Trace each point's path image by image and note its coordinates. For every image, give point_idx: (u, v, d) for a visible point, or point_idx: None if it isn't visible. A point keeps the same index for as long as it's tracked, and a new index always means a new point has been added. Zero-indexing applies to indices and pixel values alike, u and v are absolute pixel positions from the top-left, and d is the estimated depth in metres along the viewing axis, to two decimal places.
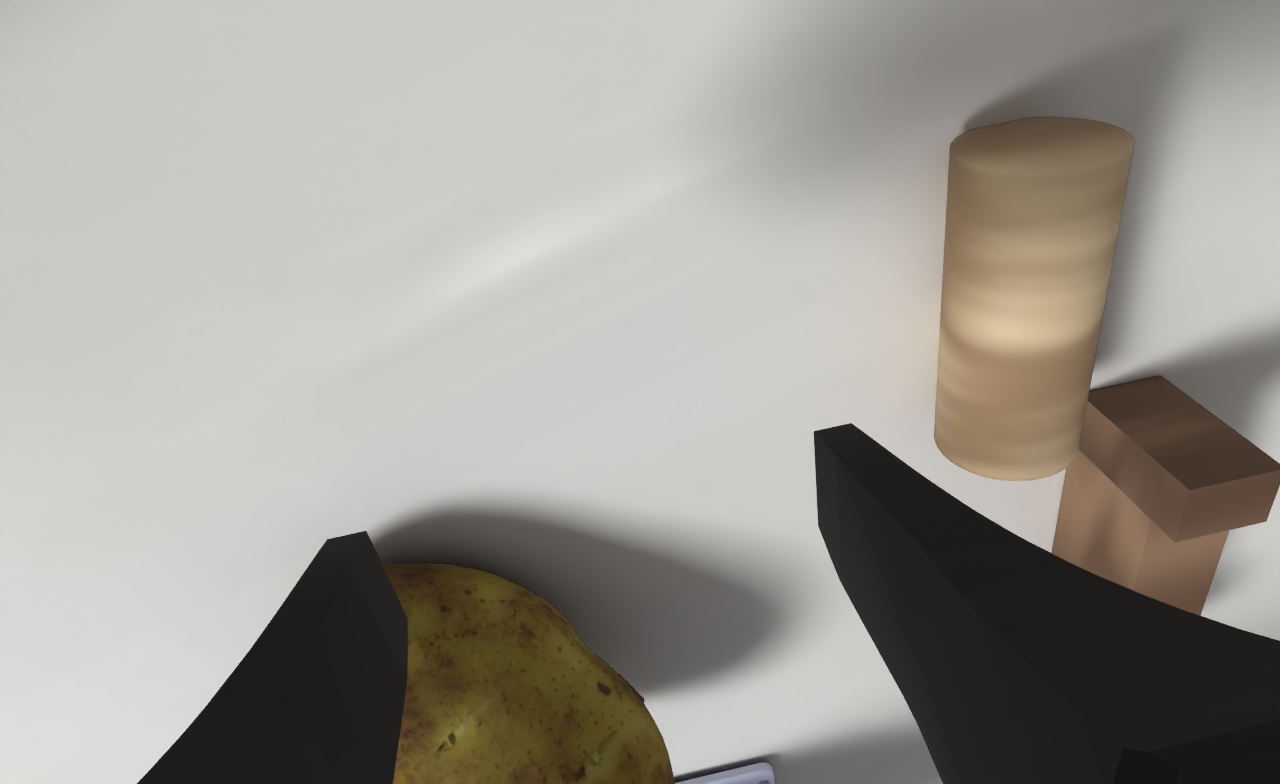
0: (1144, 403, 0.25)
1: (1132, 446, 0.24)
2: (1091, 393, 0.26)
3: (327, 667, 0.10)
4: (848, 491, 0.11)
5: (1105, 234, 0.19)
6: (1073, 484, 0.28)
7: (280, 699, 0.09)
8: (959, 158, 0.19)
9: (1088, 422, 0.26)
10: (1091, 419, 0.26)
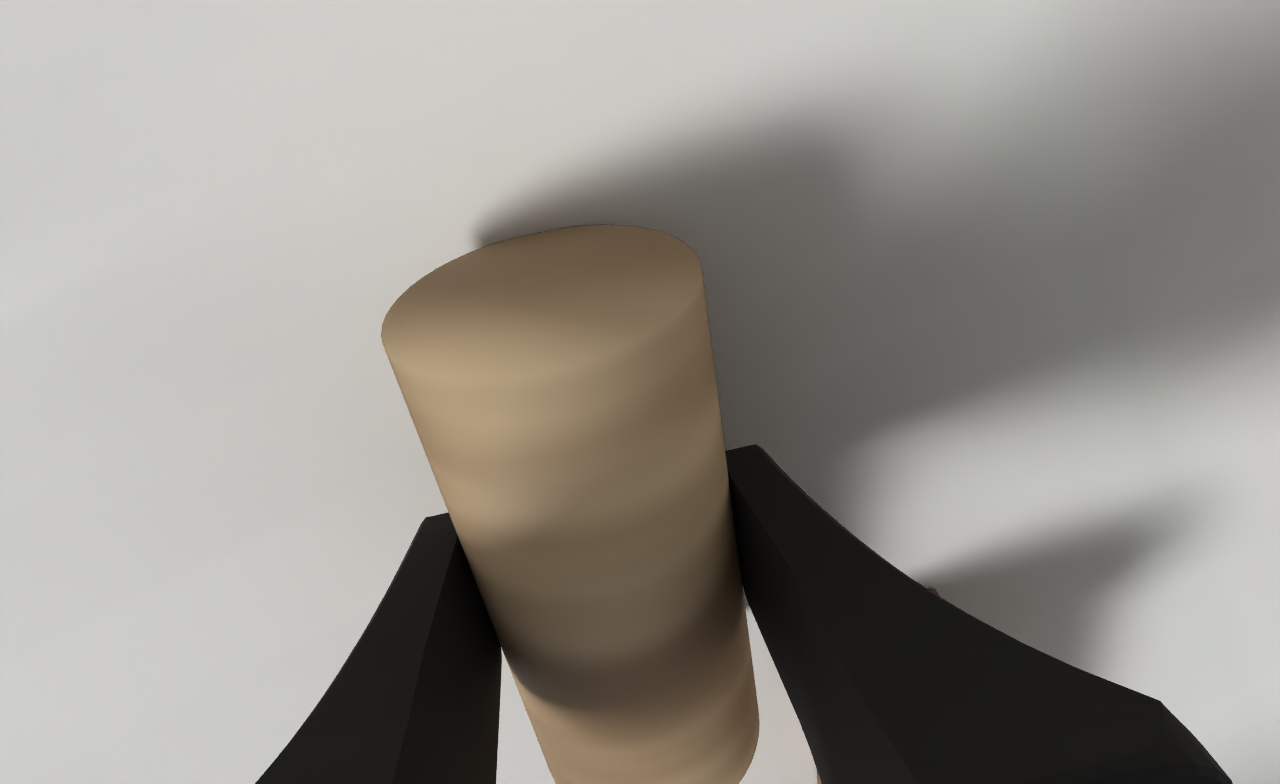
0: None
1: None
2: None
3: (445, 640, 0.10)
4: (743, 515, 0.11)
5: (652, 478, 0.10)
6: None
7: (413, 668, 0.09)
8: (390, 319, 0.10)
9: None
10: None
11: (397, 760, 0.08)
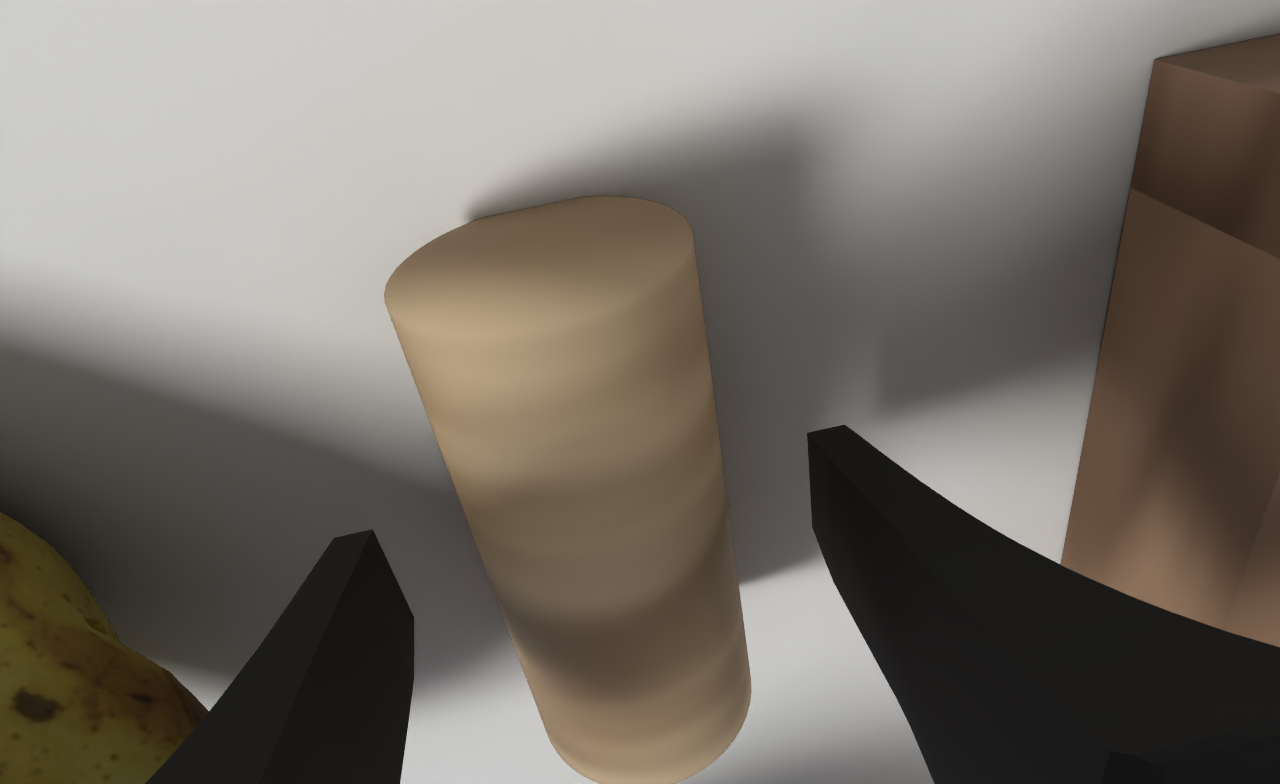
0: None
1: None
2: (1181, 56, 0.12)
3: (336, 665, 0.10)
4: (841, 493, 0.11)
5: (639, 438, 0.10)
6: (1133, 282, 0.14)
7: (290, 697, 0.09)
8: (394, 280, 0.10)
9: (1174, 118, 0.12)
10: (1183, 106, 0.12)
11: None
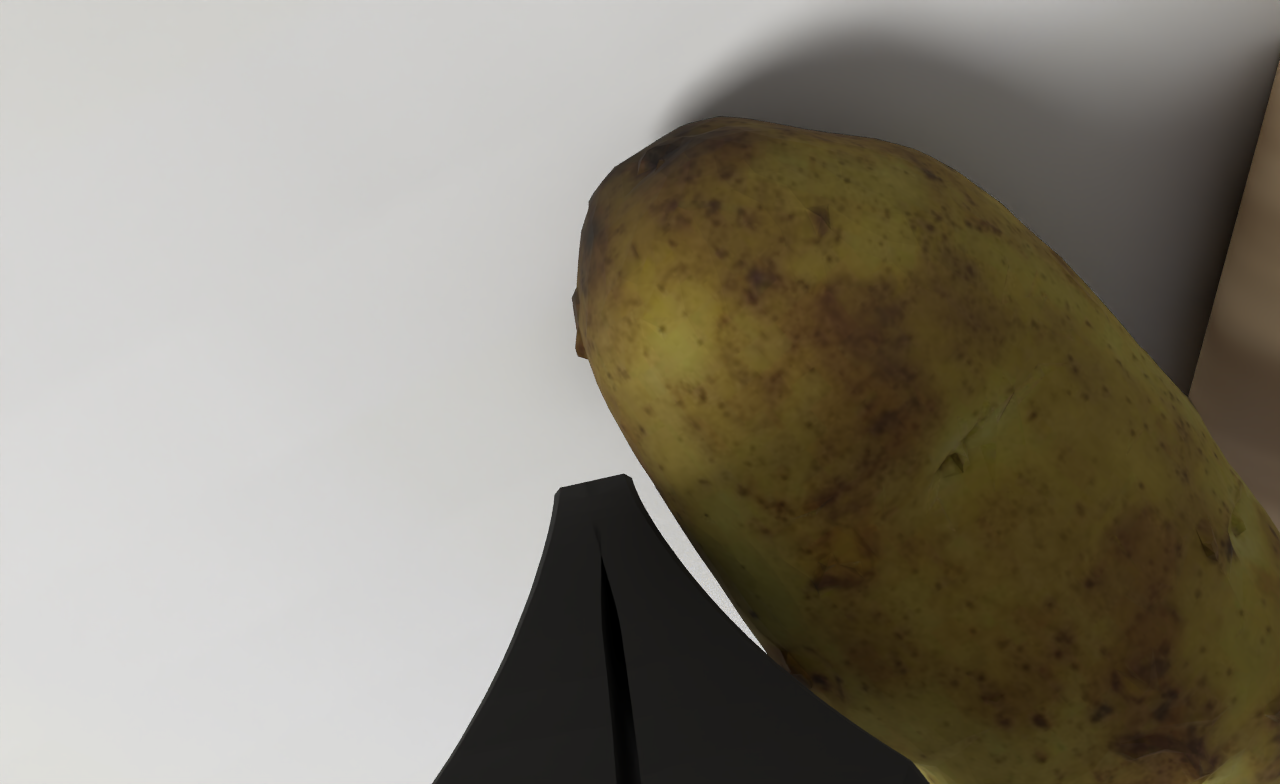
0: None
1: None
2: None
3: (608, 603, 0.10)
4: None
5: None
6: None
7: (594, 627, 0.09)
8: None
9: None
10: None
11: (610, 711, 0.08)
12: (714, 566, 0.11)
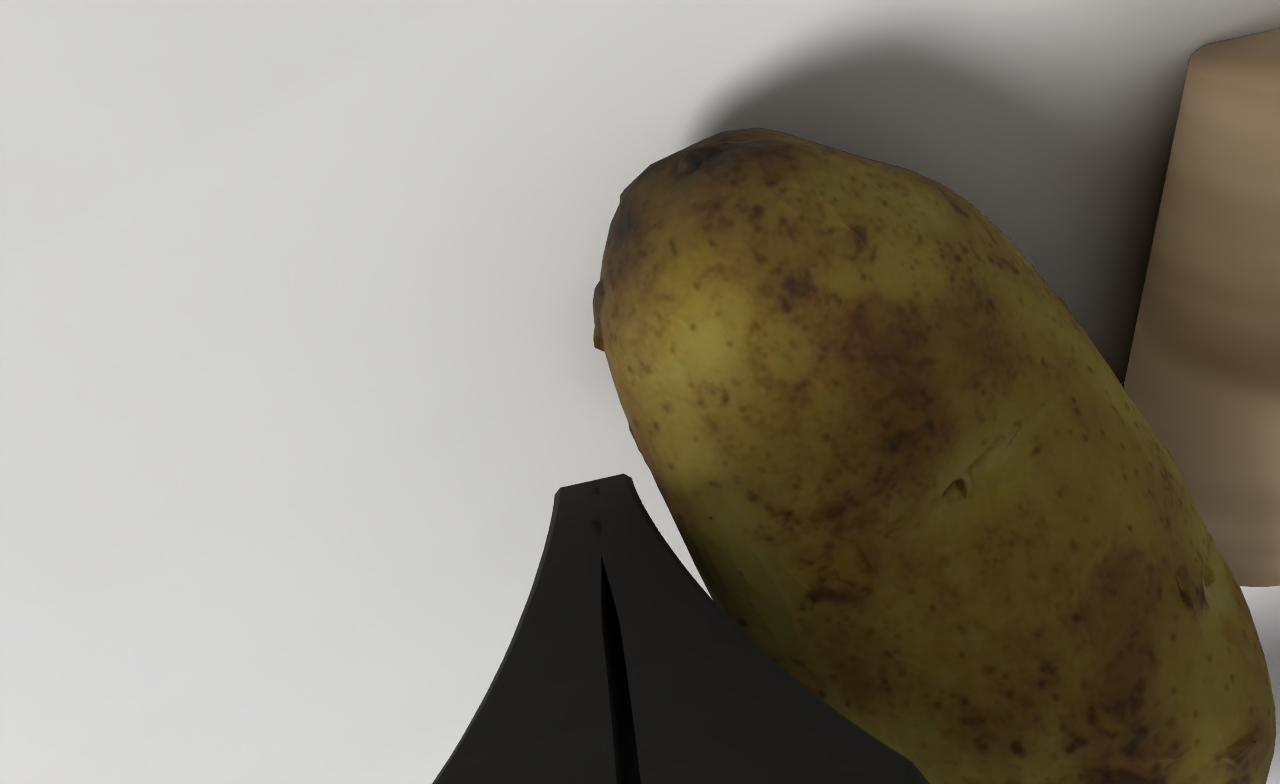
0: None
1: None
2: None
3: (608, 603, 0.10)
4: None
5: None
6: None
7: (594, 627, 0.09)
8: None
9: None
10: None
11: (610, 710, 0.08)
12: (709, 571, 0.11)
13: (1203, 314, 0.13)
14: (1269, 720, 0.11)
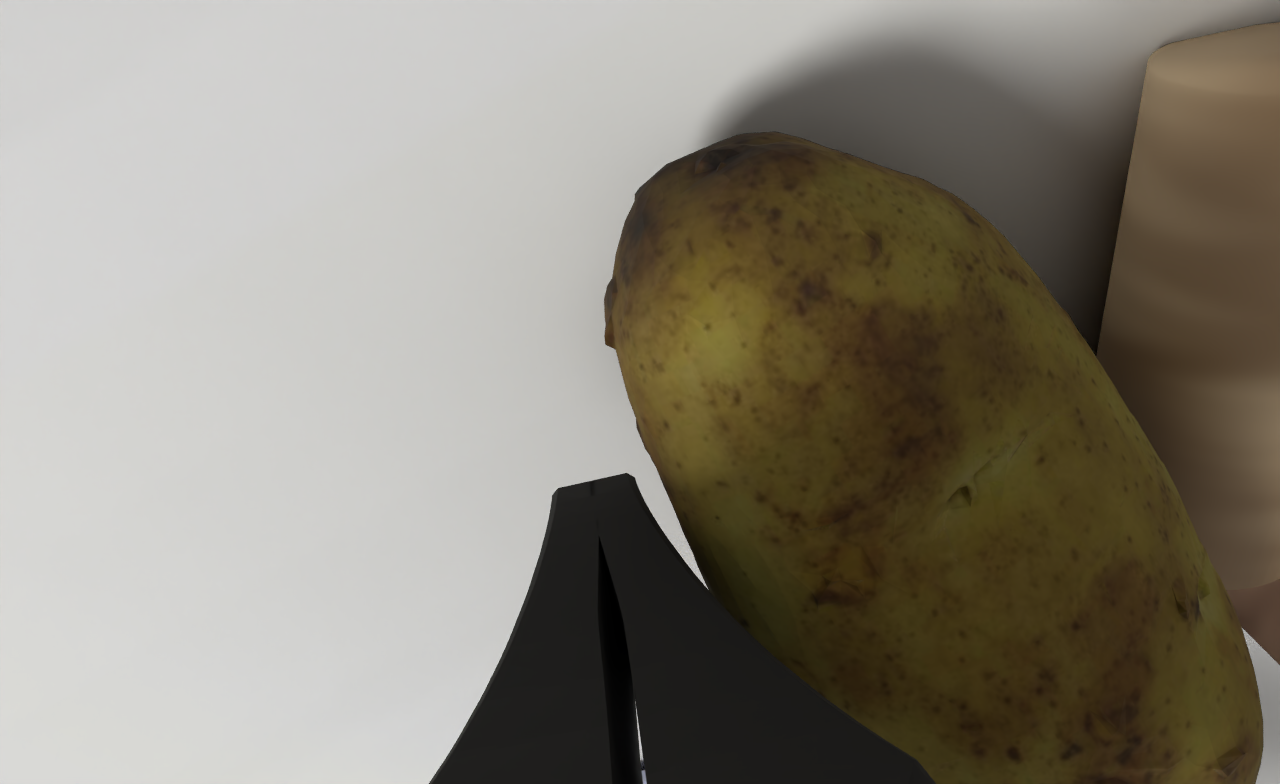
0: None
1: None
2: None
3: (605, 604, 0.10)
4: None
5: (1130, 185, 0.13)
6: None
7: (591, 628, 0.09)
8: None
9: None
10: None
11: (606, 711, 0.08)
12: (712, 570, 0.11)
13: None
14: (1258, 732, 0.11)
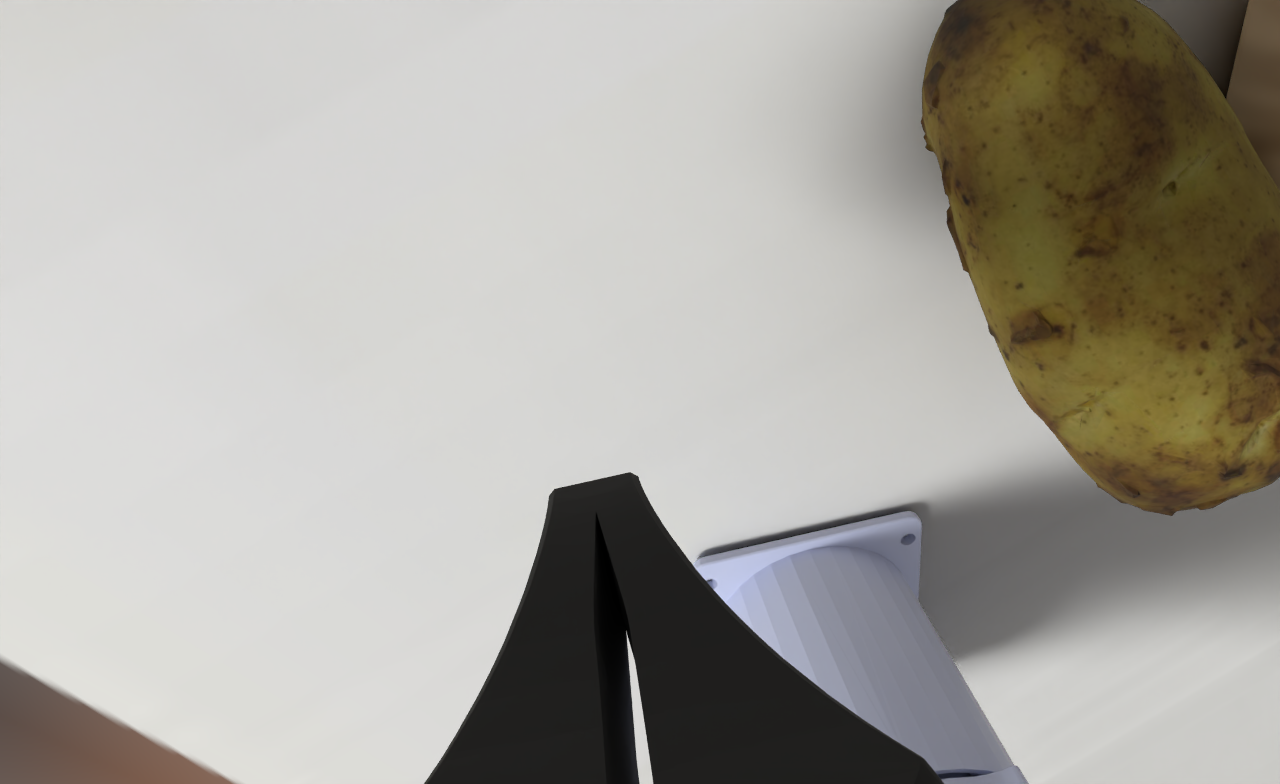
0: None
1: None
2: None
3: (601, 604, 0.10)
4: (605, 546, 0.11)
5: (1245, 24, 0.19)
6: None
7: (586, 628, 0.09)
8: None
9: None
10: None
11: (601, 712, 0.08)
12: (999, 252, 0.17)
13: None
14: None
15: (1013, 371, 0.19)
